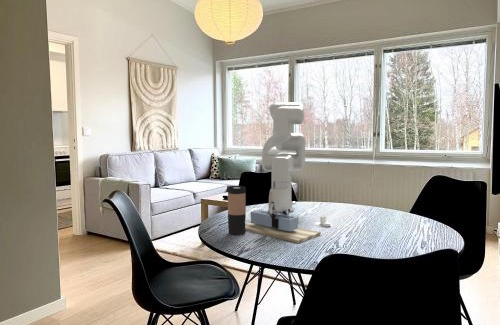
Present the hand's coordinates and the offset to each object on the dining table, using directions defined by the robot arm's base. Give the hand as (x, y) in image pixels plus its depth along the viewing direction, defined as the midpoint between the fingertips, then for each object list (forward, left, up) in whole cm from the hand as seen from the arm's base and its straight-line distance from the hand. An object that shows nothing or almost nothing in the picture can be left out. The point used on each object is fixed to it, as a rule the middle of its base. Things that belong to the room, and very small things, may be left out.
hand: (279, 225), depth 166 cm
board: (0, 0, -3) cm, 3 cm away
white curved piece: (-21, +7, -3) cm, 23 cm away
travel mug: (+14, -12, -3) cm, 19 cm away
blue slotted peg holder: (0, -3, -1) cm, 4 cm away
